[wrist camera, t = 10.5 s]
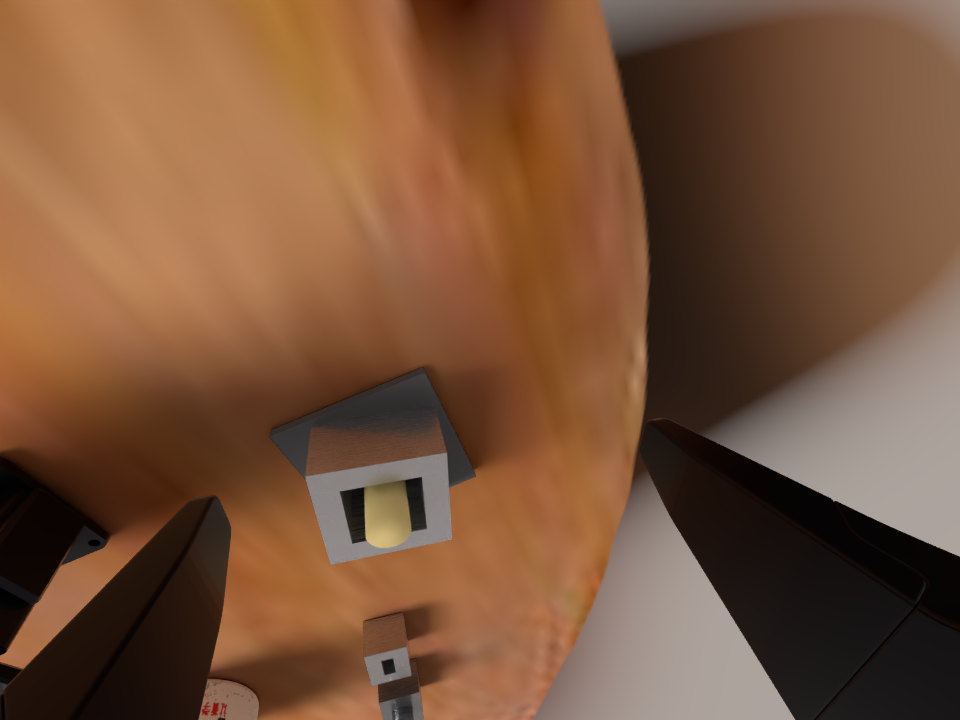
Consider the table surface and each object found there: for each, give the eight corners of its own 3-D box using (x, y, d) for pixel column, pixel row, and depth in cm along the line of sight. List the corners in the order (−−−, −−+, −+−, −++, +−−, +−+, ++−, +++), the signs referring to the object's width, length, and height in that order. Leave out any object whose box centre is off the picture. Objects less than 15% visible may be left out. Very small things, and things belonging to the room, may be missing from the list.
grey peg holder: (347, 523, 26) (347, 610, 22) (270, 430, 22) (250, 516, 18) (474, 470, 27) (497, 545, 22) (423, 367, 22) (440, 437, 18)
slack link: (408, 641, 35) (411, 675, 33) (370, 650, 34) (371, 686, 32) (403, 612, 32) (406, 647, 30) (363, 621, 32) (363, 657, 30)
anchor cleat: (420, 687, 39) (428, 757, 35) (384, 697, 38) (388, 769, 34) (415, 658, 36) (423, 730, 32) (377, 668, 35) (380, 742, 31)
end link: (440, 488, 26) (451, 539, 23) (333, 508, 25) (330, 564, 22) (434, 405, 23) (446, 452, 20) (311, 423, 22) (304, 476, 19)
